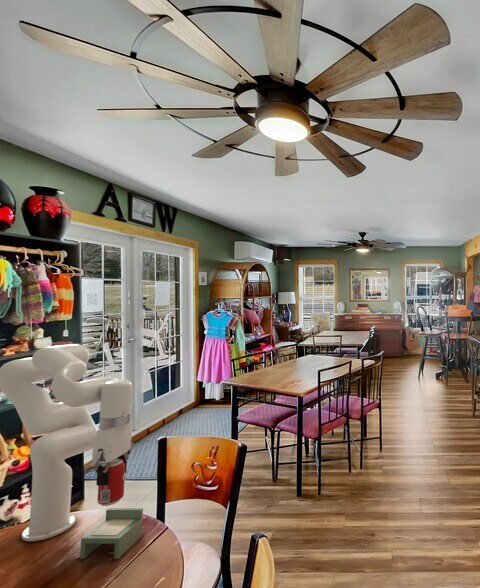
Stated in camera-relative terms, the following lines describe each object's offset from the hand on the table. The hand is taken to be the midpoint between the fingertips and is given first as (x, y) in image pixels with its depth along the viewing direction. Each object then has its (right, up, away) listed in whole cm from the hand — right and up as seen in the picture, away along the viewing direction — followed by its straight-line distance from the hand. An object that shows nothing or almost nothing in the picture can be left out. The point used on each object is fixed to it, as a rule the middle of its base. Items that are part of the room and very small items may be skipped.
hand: (111, 478), depth 106 cm
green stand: (0, -21, 0) cm, 21 cm away
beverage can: (0, -7, 0) cm, 7 cm away
